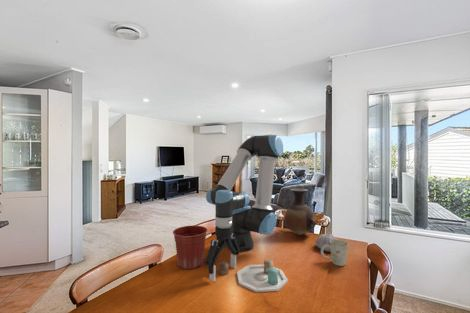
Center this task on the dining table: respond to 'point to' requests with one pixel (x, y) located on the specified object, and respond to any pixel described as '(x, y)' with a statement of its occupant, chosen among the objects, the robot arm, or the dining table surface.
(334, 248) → the mug
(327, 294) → the dining table surface
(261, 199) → the robot arm
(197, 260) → the flower pot
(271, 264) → the beige wooden cylinder
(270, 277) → the teal bead
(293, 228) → the vase
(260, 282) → the groove tray
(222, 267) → the walnut bead
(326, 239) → the sea urchin shell
